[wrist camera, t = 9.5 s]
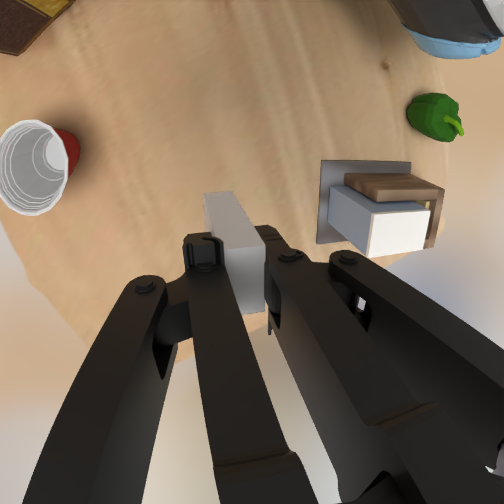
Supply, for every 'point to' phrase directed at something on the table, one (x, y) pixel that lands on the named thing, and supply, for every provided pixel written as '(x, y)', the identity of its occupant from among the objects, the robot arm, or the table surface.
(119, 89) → the table surface
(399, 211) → the white box
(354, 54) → the table surface
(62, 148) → the plastic cup
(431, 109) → the bell pepper
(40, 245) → the table surface
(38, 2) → the book
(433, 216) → the housing
